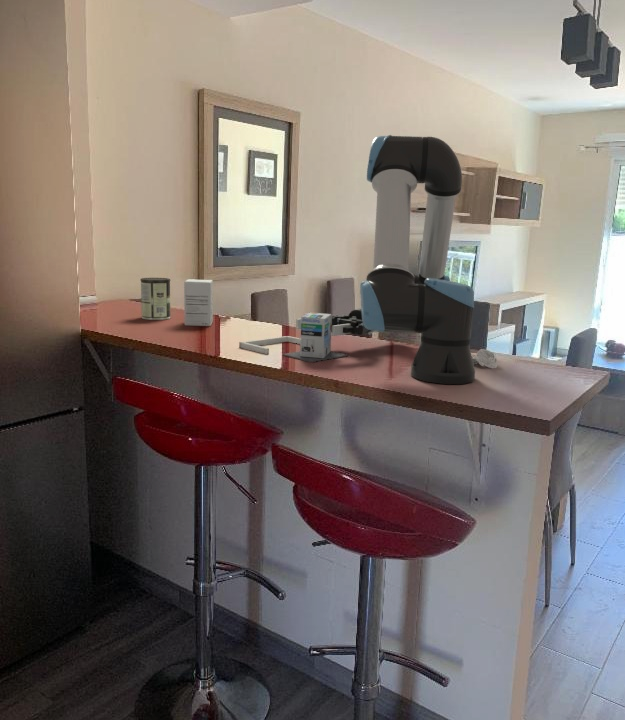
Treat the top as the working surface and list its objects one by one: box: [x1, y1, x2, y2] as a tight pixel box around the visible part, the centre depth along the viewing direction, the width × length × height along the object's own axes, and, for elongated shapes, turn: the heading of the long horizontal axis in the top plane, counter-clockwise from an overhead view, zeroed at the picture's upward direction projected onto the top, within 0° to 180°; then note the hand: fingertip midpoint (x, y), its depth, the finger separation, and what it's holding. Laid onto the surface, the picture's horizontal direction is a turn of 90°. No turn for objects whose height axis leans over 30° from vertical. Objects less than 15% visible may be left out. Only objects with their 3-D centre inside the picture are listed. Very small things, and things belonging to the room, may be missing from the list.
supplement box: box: [183, 278, 214, 327], centre depth 219 cm, size 9×9×15 cm
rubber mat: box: [282, 350, 348, 363], centre depth 174 cm, size 11×14×1 cm
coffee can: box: [140, 277, 171, 321], centre depth 228 cm, size 10×10×14 cm
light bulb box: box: [299, 311, 333, 358], centre depth 173 cm, size 11×7×11 cm, turn 168°
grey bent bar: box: [238, 335, 301, 355], centre depth 184 cm, size 12×19×2 cm, turn 136°
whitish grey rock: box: [472, 348, 498, 369], centre depth 170 cm, size 8×7×5 cm
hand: (314, 327), depth 172 cm, fingers open, 13 cm apart
